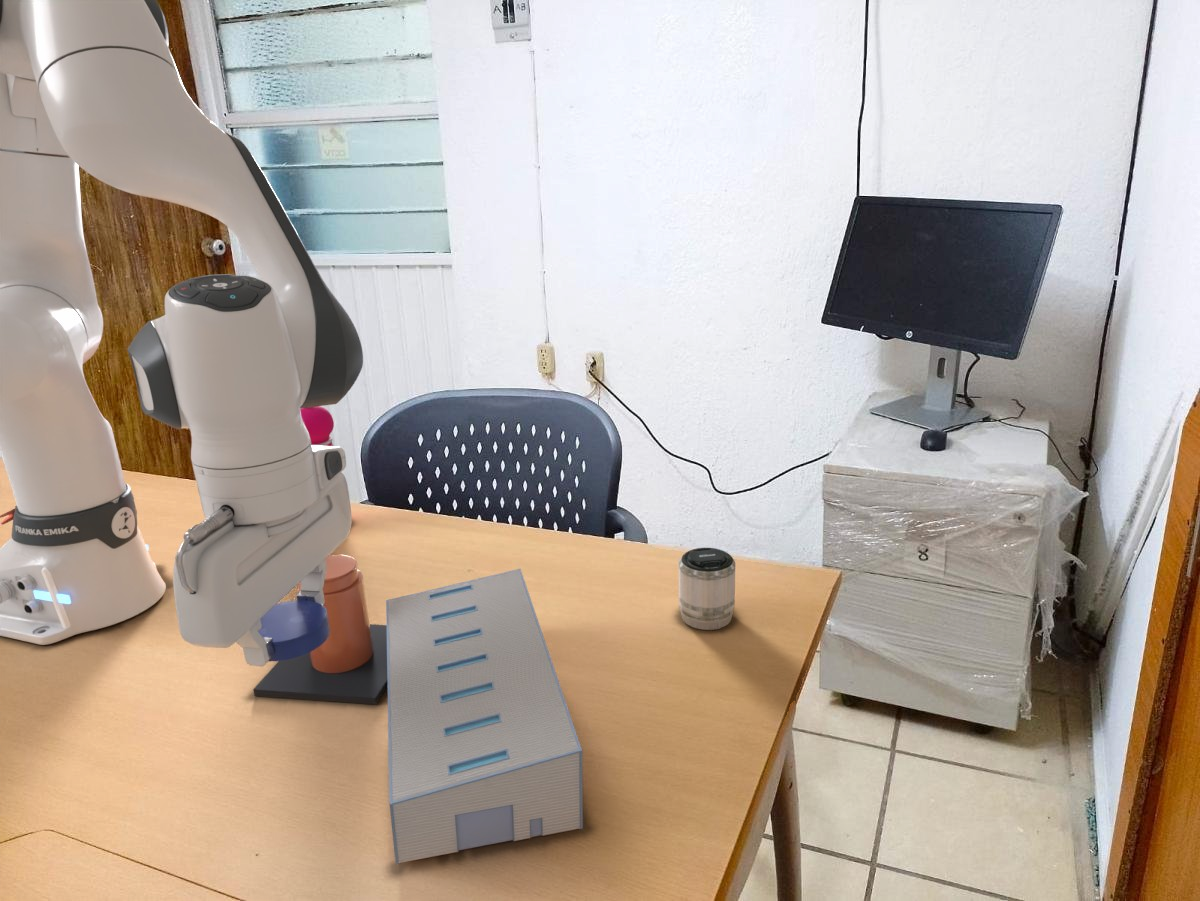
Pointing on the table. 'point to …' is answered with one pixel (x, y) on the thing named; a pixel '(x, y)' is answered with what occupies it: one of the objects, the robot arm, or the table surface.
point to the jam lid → (295, 628)
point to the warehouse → (476, 722)
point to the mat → (330, 678)
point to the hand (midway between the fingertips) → (288, 633)
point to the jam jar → (344, 618)
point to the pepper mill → (318, 425)
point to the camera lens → (706, 588)
